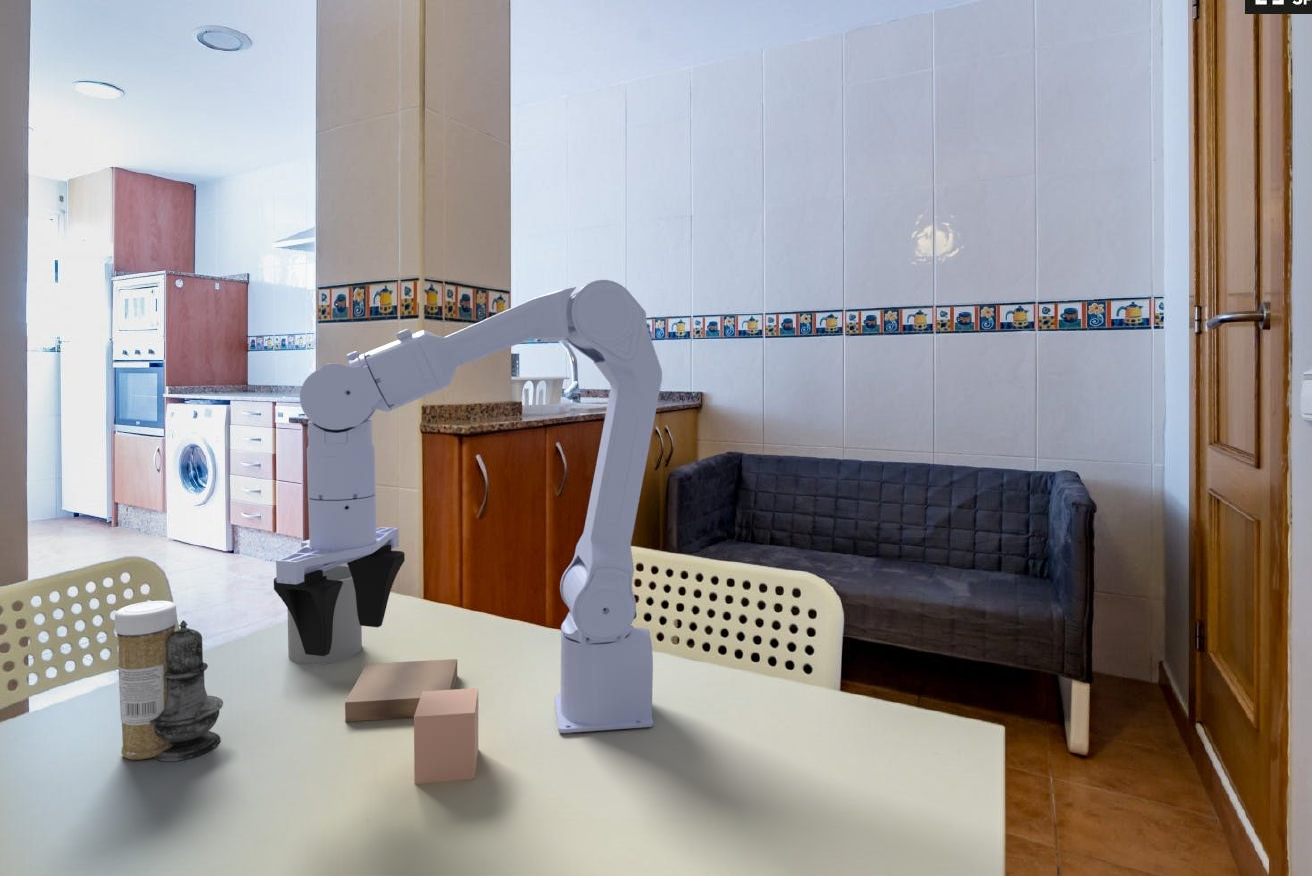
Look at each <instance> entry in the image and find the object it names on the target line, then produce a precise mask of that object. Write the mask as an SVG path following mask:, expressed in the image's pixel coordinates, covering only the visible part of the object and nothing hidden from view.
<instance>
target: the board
mask: <svg viewBox="0 0 1312 876" xmlns="http://www.w3.org/2000/svg"><path fill="white" fill-rule="evenodd" d="M456 679H458V659H457V658H454V659H452V658H451V659H435V660H434V659H432V660H431V659H430V660H416V661H415V660H413V661H410V660H409V661H397V662H396V661H394V662H393V661H392V662H375V663H374V662H373V663H366V664H365V667H364V668H363V670H362V672H361V674H360V675H359V677H358V679H357V680H356V683H355V685H354V686H353V688H352V689H351V691H350V692H349V695H348V697H347V698H346V700H345V702H344V709H345V710H344V714H345V715H344V718H345V720H344V721H345V722H346V723H347V722H359V721H360V722H361V721H375V720H391V719H392V720H393V719H406V718H408V719H409V718H414V715H415V712H416V709H417V706H418V703H419V700H420V697H421V694H422V691H439V690H455V689H456V685H457V680H456Z"/></svg>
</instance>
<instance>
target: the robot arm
mask: <svg viewBox="0 0 1312 876" xmlns="http://www.w3.org/2000/svg"><path fill="white" fill-rule="evenodd" d="M576 288H577V286H574V287H570V288H565V289H560V290H557V291H554V292H553V291H552V292H551V293H546V294H544V295H543V294H542V295H540V296H537V297H534V298H531V299H530V300H529V299H528V300H526V301H525V302H522V303H520V304H517V305H516V306H513V307H511V308H508V309H506V310H504V311H501V312H499V313H497V314H494V315H492V316H490V317H488V318H485V319H483V320H481V321H479V322H477V323H475V324H471V325H469V326H467V327H465V328H463V329H460V330H458V331H456V332H454V333H451V334H449V335H446V336H440V335H437V334H435V333H432V332H430V331H428V330H425V329H423V330H419V331H417V332H415V333H413V332H412V331H411V330H410V328H407V329H404V330H401V331H398V332H396V338H397V340H395V341H392V342H389V343H387V344H385V345H382V346H379V347H376V348H374V349H372V350H369V351H367V352H365V353H361V354H360V353H359V352H358V351H352V352H350V353H348V354H346V359H347V363H348V365H347V364H342V363H337V362H335V363H334V362H333V363H329V362H328V363H326V364H324V365H322V366H321V367H320V368H319V369H317V370H315V371H313V372H311V374H309V376H308V377H307V378H305V380H304V382H303V383H302V386H301V389H300V391H299V403H300V406H301V409H302V412H303V413H304V415H305V416H306V417H307V418H308V419H309V420H308V421H307V440H308V443H307V444H308V446H307V448H306V465H307V466H306V471H307V497H308V498H307V504H308V505H307V506H308V539H307V540H303V541H301V542H300V544H301V545H300V547H301V548H299V549H298V550H295V551H294V552H292V553H290V554H289V555H287V556H285V557H283V558H279V559H277V560H275V568H276V569H275V570H276V571H275V572H276V573H275V574H276V577H275V578H274V579H273V590H274V591H275V593H276V594H277V595H278V596H279V598H280V599H281V600H282V602H283V603H284V604H285V606H286V607H287V611H288V610H289V611H290V613H291V615H292V617H293V619H294V622H295V624H296V627H297V629H298V632H299V635H300V638H301V641H302V645H303V648H304V651H305V654H307V655H316V656H326V655H328V654H329V653H330V649H331V645H332V632H333V616H334V610H335V605H336V601H337V598H338V595H339V592H340V589H341V587H342V585H343V581H338V580H327V576H323V571H326V570H329V569H331V568H334V567H337V566H343V565H344V564H346V566H348V567H349V570H350V573H351V575H352V579H353V583H354V588H355V594H356V605H357V614H358V619H359V623H360V626H362V627H369V628H371V627H372V628H380V627H382V625H383V622H384V618H385V614H386V610H387V605H388V602H389V598H390V594H391V592H392V588H393V585H394V582H395V580H396V578H397V576H398V573H399V571H400V569H401V567H402V565H403V564H404V562H405V560H406V559H405V552H404V551H400V550H392V549H395V548H397V547H399V543H400V542H399V537H400V535H399V528H398V527H387V526H386V527H383V526H380V527H377V516H376V515H377V512H376V510H377V507H376V506H377V505H376V504H377V503H376V502H377V501H376V497H377V494H376V469H375V468H376V467H375V466H376V465H375V464H376V459H375V458H376V457H375V456H376V454H375V445H374V444H373V435H372V433H373V431H372V430H373V429H372V426H373V425H372V419H371V417H372V416H374V414H375V411H376V410H379V411H382V412H386V413H387V412H391V411H393V410H396V409H398V408H400V407H402V406H405V405H407V404H410V403H413V402H415V401H417V400H419V399H422V398H424V397H428V395H431V394H432V395H433V394H434V393H437V392H439V391H441V390H444V389H446V388H448V387H450V386H451V384H452V381H453V380H454V379H453V378H454V376H455V373H456V371H457V369H458V368H459V367H461V366H464V365H467V364H469V363H473V362H475V361H477V360H480V359H483V358H485V357H487V356H491V355H493V354H495V353H499V352H501V351H504V350H506V349H508V348H512V347H515V346H516V345H519V344H522V343H524V342H528V341H530V340H539V341H545V342H553V343H558V342H560V341H564V340H566V342H567V343H568V344H569V345H571V346H572V347H573V348H575V349H576V350H577V351H579V352H580V353H582V354H583V355H584V356H586V357H588V358H589V359H590V360H592V361H593V363H594V365H595V366H596V367H597V369H598V370H599V371H600V373H601V374H602V375H603V376H604V378H605V379H606V380H607V382H608V383H609V384H610V388H609V389H610V390H609V394H608V399H607V406H606V411H605V417H604V420H603V421H604V422H603V426H602V427H603V428H602V432H601V438H600V443H599V448H598V453H597V459H596V465H595V470H594V475H593V481H592V486H591V491H590V496H589V502H588V507H587V511H586V512H587V513H586V518H585V522H584V523H585V524H584V527H583V532H582V535H581V536H580V538H579V540H578V542H577V543H576V546H575V550H574V556H573V558H572V561H571V563H570V564H569V565H568V567H567V568H565V571H564V572H563V574H562V576H561V579H560V582H559V584H560V585H559V590H560V591H559V592H560V595H561V599H562V601H563V602H564V604H565V605H566V606H567V608H568V609H569V611H568V613H567V615H566V617H565V619H564V620H563V622H562V623H561V626H560V632H561V633H560V694H558V693H557V694H556V695H555V697H554V701H555V711H556V714H555V715H556V724H557V732H558V733H561V734H567V733H568V734H570V733H582V732H583V733H584V732H593V731H594V732H596V731H597V732H598V731H609V730H610V731H612V730H625V729H635V728H636V729H638V728H640V729H641V728H650V727H652V726H653V725H654V721H653V679H654V678H653V677H654V676H653V674H654V665H653V664H654V661H653V659H654V656H653V646H652V637H651V634H650V632H649V629H648V628H645V627H632V624H633V622H634V620H635V617H636V611H637V601H636V598H635V595H634V590H633V578H634V573H635V569H634V567H635V566H634V559H633V554H632V553H633V551H632V541H633V535H634V530H635V525H636V524H635V523H636V520H637V519H636V518H637V513H638V508H639V503H640V497H641V492H642V487H643V480H644V476H645V471H646V465H647V462H648V461H647V460H648V456H649V451H650V450H649V449H650V446H651V440H652V439H651V438H652V435H653V428H654V423H655V417H656V413H657V407H658V402H659V397H660V391H661V387H662V382H663V371H662V367H661V364H660V362H659V361H660V360H659V357H658V355H657V353H656V350H655V347H654V343H653V340H652V338H651V337H652V336H651V335H650V332H649V328H648V324H647V322H648V321H647V312H646V310H645V309H644V308H643V307H642V305H641V304H640V303H639V302H638V301H637V299H635V297H634V295H632V293H631V292H630V291H629V290H628V289H627V288H626V287H624V286H623V285H622V284H620V283H619V282H616V281H614V280H608V279H597V280H593V281H591V282H588V283H587V284H585V285H584V286H582V287H581V288H580V290H579V291H578V292H575V290H576ZM573 292H575V293H573ZM572 293H573V294H572Z"/></svg>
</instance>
